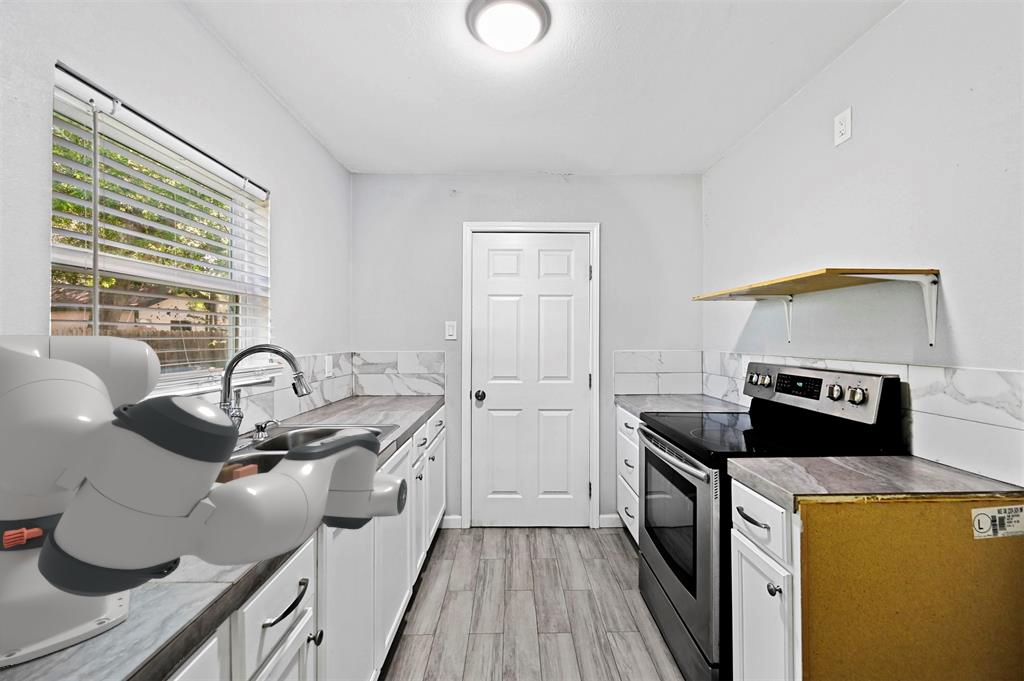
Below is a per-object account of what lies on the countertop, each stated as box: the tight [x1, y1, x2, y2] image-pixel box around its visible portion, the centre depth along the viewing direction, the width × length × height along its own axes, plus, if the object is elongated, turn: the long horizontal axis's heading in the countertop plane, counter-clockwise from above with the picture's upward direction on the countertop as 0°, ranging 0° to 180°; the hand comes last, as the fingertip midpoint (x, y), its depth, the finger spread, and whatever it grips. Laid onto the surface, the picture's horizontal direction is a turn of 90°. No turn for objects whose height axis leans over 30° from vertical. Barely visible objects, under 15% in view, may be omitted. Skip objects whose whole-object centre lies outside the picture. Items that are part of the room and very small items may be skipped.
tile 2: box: [218, 463, 244, 484], centre depth 102 cm, size 2×5×10 cm, turn 167°
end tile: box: [233, 464, 259, 480], centre depth 101 cm, size 2×5×10 cm, turn 168°
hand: (279, 487), depth 100 cm, fingers closed
